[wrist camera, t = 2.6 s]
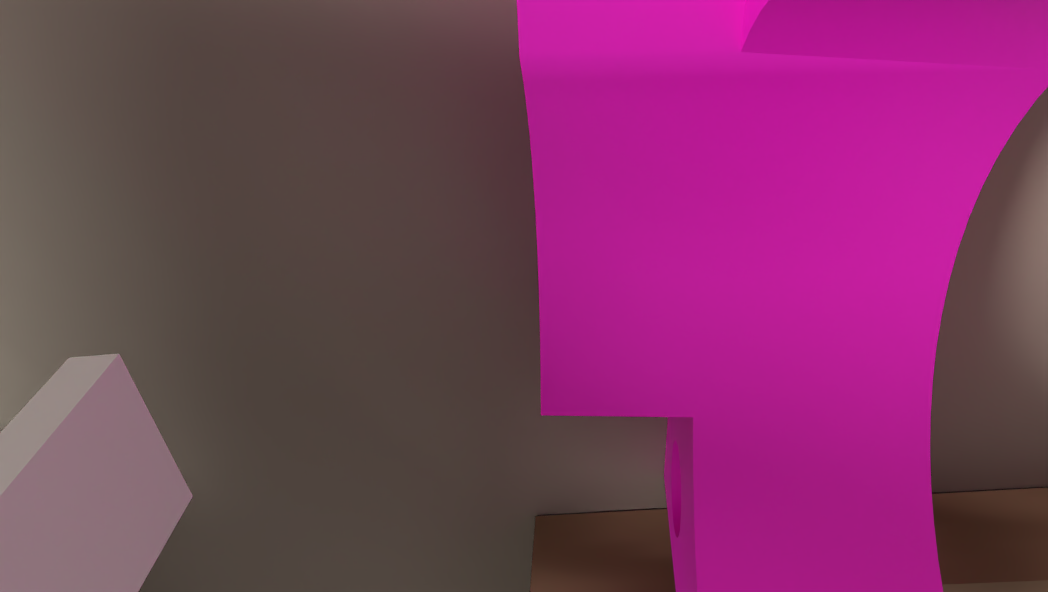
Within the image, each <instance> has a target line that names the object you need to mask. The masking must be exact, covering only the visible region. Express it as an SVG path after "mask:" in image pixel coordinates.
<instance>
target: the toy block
mask: <svg viewBox="0 0 1048 592" xmlns="http://www.w3.org/2000/svg"><path fill="white" fill-rule="evenodd" d="M517 15H518V37H519V58H520V64H521V70H522V76H523V83H524V91H525V98H526V106H527V115H528V125H529V134H530V146H531V157H532V170H533V183H534V198H535V215H536V234H537V256H538V282H539V316H540V371H541V415H549V416H624V417H668V423H667V437H666V452H665V466H664V481H665V491H666V501H667V510H668V520H669V530H670V540H671V550H672V559H673V569H674V579H675V589H676V592H943V587H942V581H941V574H940V568H939V561H938V554H937V545H936V536H935V527H934V517H933V503H932V489H931V461H930V428H931V402H932V386H933V374H934V365H935V356H936V347H937V341H938V335H939V329H940V323H941V317H942V311H943V307H944V302H945V298H946V293H947V289H948V284H949V280H950V276H951V273H952V269H953V266H954V262H955V258H956V255H957V251H958V248H959V245H960V242H961V239H962V237H963V234H964V231H965V228H966V225H967V222H968V219H969V217H970V214H971V212H972V210H973V207H974V205H975V203H976V200H977V198H978V196H979V193H980V191H981V189H982V186H983V184H984V182H985V180H986V179H987V177H988V175H989V173H990V171H991V169H992V167H993V165H994V163H995V161H996V159H997V157H998V155H999V154H1000V152H1001V151H1002V149H1003V147H1004V146H1005V144H1006V142H1007V141H1008V139H1009V138H1010V136H1011V134H1012V133H1013V131H1014V130H1015V128H1016V126H1017V125H1018V124H1019V122H1020V121H1021V120H1022V118H1023V117H1024V116H1025V114H1026V113H1027V112H1028V110H1029V109H1030V108H1031V106H1032V105H1033V104H1034V102H1035V101H1036V100H1037V98H1038V97H1039V96H1040V95H1041V94H1042V93H1043V91H1044V90H1045V89H1046V88H1047V87H1048V0H517Z"/></svg>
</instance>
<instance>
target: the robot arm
mask: <svg viewBox="0 0 1048 592" xmlns="http://www.w3.org/2000/svg"><path fill="white" fill-rule="evenodd" d="M192 497H193V495H192V493H191V492H190V490H189V488H188V486H187V484H186V482H185V480H184V478H183V476H182V474H181V472H180V470H179V468H178V466H177V464H176V463H175V461H174V459H173V457H172V455H171V453H170V451H169V449H168V447H167V445H166V443H165V441H164V439H163V437H162V435H161V434H160V432H159V430H158V428H157V426H156V424H155V422H154V420H153V418H152V416H151V414H150V412H149V410H148V408H147V406H146V405H145V403H144V401H143V399H142V397H141V395H140V393H139V391H138V389H137V387H136V385H135V383H134V381H133V379H132V378H131V376H130V374H129V372H128V370H127V368H126V366H125V364H124V362H123V360H122V358H121V356H120V354H107V355H94V356H82V357H69V358H68V359H67V360H66V361H65V362H64V363H63V365H62V366H61V367H60V368H59V369H58V370H57V371H56V372H55V373H54V374H53V376H52V377H51V378H50V379H49V380H48V381H47V382H46V383H45V384H44V385H43V386H42V388H41V389H40V390H39V391H38V392H37V393H36V394H35V395H34V396H33V397H32V398H31V400H30V401H29V402H28V403H27V404H26V405H25V406H24V407H23V408H22V409H21V411H20V412H19V413H18V414H17V415H16V416H15V417H14V418H13V419H12V420H11V421H10V423H9V424H8V425H7V426H6V427H5V428H4V429H3V430H2V431H1V432H0V592H138V591H139V590H140V588H141V586H142V584H143V583H144V581H145V579H146V577H147V576H148V574H149V572H150V570H151V569H152V567H153V565H154V563H155V562H156V560H157V558H158V556H159V555H160V553H161V551H162V549H163V548H164V546H165V544H166V542H167V541H168V539H169V537H170V535H171V534H172V532H173V530H174V528H175V527H176V525H177V523H178V521H179V520H180V518H181V516H182V514H183V513H184V511H185V509H186V507H187V506H188V504H189V502H190V500H191V499H192Z"/></svg>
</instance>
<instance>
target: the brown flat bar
mask: <svg viewBox="0 0 1048 592" xmlns="http://www.w3.org/2000/svg"><path fill="white" fill-rule="evenodd" d="M932 503H933V517H934V527H935V536H936V545H937V554H938V561H939V568H940V574H941V581H942V587H943V592H1048V488H1030V489H1013V490H995V491H977V492H959V493H941V494H932ZM530 592H676V589H675V579H674V569H673V559H672V550H671V540H670V530H669V520H668V510H667V509H655V510H637V511H620V512H602V513H584V514H566V515H548V516H536V517H535V531H534V544H533V558H532V571H531V585H530Z"/></svg>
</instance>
